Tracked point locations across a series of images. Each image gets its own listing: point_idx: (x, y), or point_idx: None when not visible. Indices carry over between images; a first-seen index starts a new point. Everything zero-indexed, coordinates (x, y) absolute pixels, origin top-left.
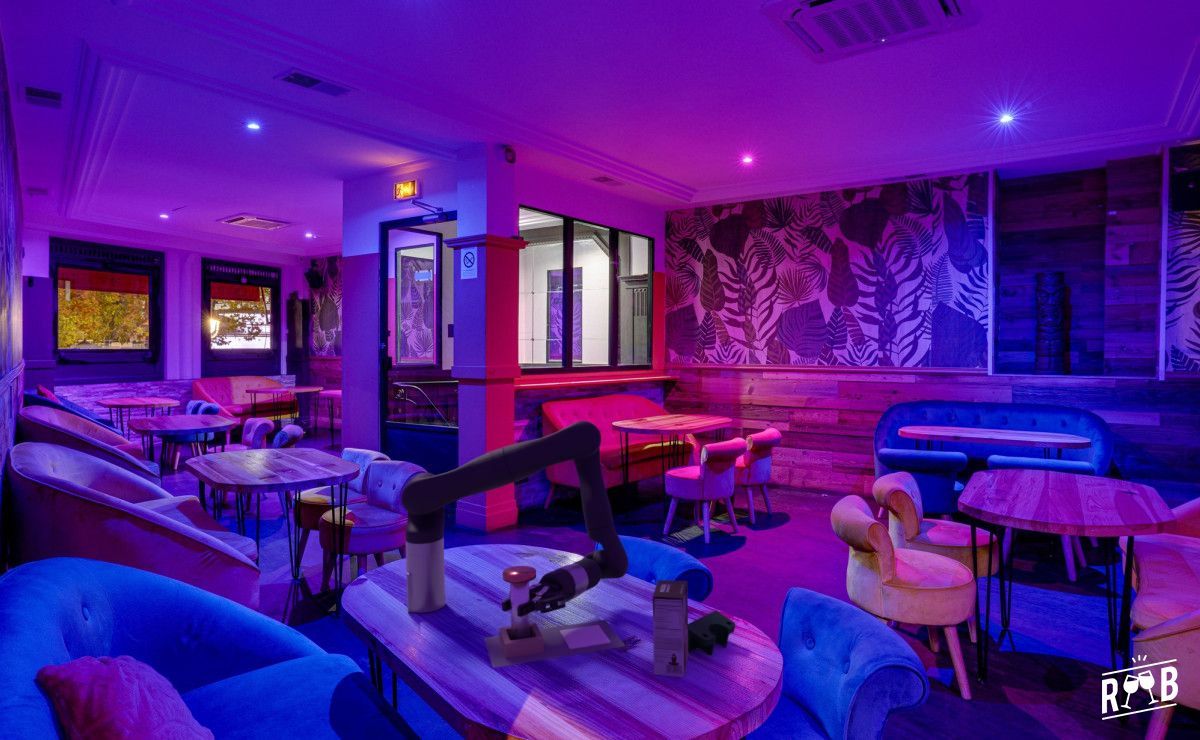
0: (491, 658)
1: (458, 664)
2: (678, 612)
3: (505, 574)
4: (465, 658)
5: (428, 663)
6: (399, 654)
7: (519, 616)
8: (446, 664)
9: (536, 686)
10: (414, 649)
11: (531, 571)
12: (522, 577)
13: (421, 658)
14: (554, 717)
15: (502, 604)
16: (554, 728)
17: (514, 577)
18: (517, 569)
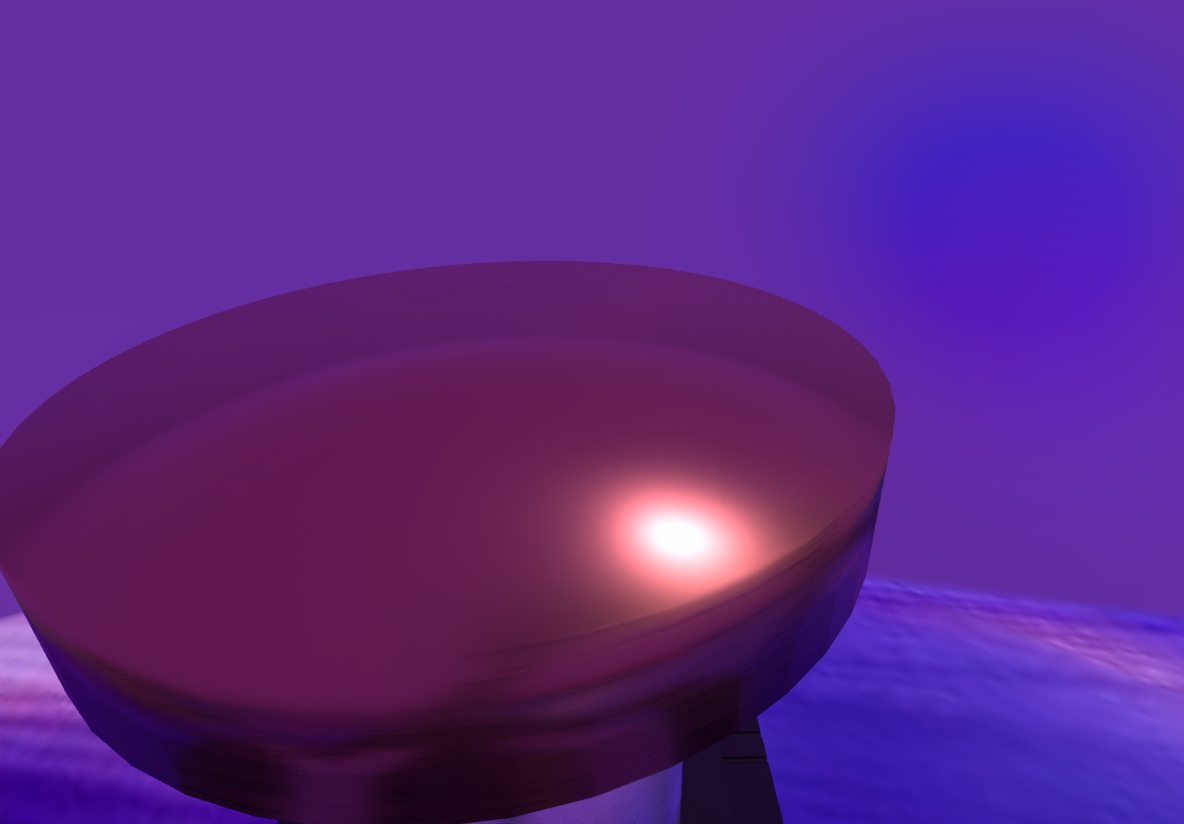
0: None
1: (790, 709)
2: None
3: (599, 269)
4: (836, 777)
5: (907, 634)
6: (1102, 608)
7: None
8: (835, 674)
9: (202, 805)
10: (1142, 674)
11: (146, 443)
12: (259, 305)
13: (990, 642)
14: (31, 666)
15: None
16: (23, 621)
17: (387, 273)
18: (612, 387)
